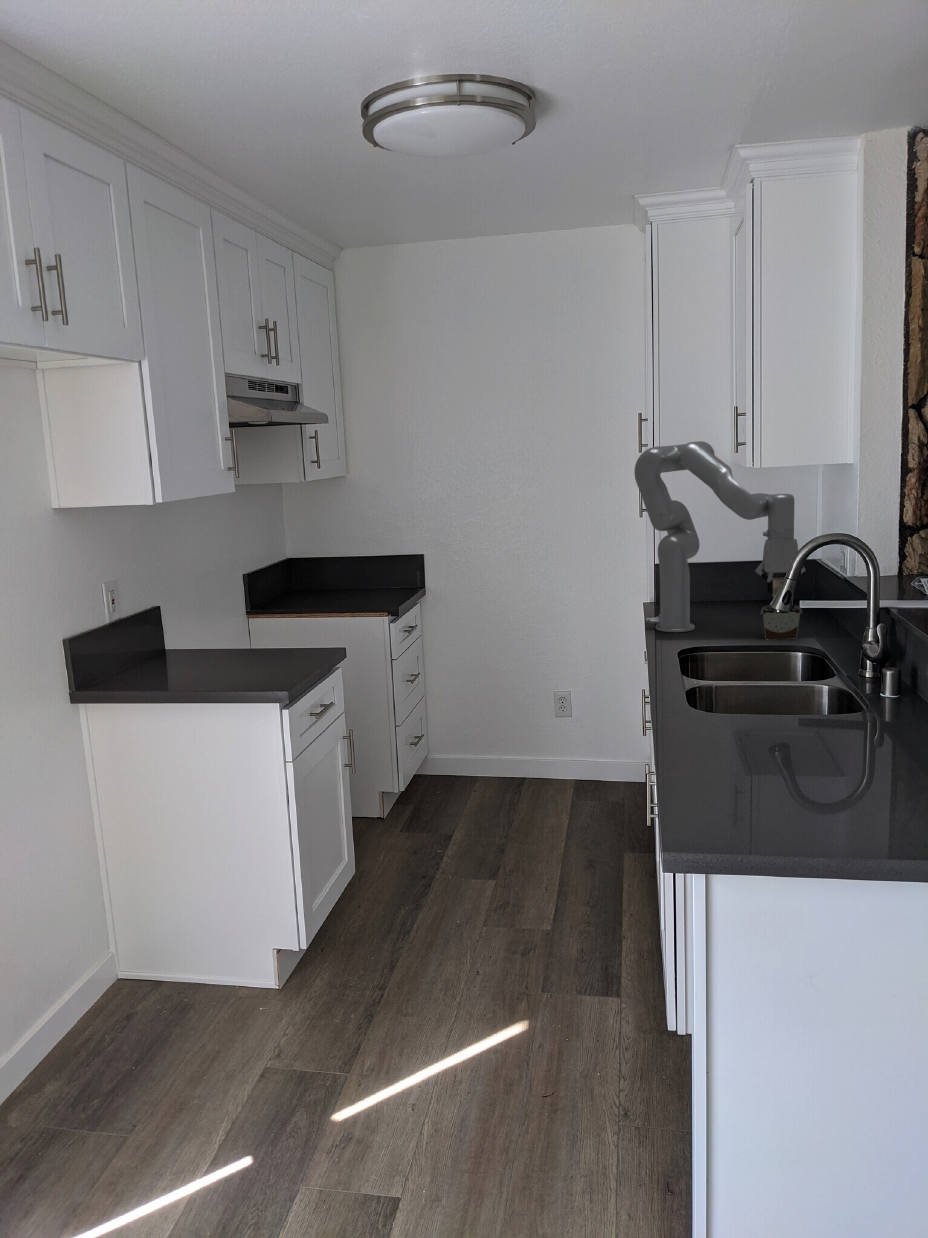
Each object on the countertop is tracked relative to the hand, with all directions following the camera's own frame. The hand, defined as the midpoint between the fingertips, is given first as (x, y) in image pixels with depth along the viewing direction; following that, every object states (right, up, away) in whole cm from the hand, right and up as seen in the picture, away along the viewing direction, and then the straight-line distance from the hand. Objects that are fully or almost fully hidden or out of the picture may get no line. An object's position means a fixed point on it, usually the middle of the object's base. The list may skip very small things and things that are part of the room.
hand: (780, 593), depth 286 cm
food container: (0, -14, +3) cm, 14 cm away
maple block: (0, -1, 0) cm, 1 cm away
